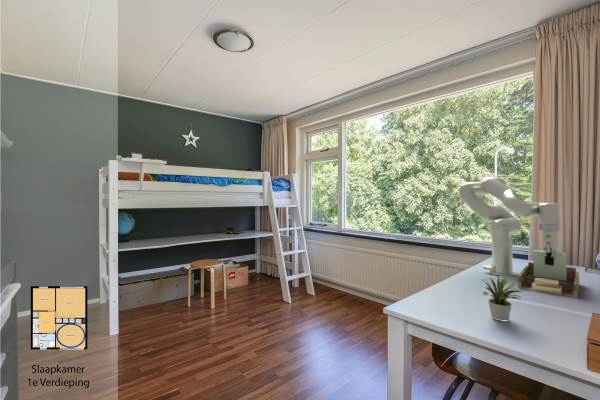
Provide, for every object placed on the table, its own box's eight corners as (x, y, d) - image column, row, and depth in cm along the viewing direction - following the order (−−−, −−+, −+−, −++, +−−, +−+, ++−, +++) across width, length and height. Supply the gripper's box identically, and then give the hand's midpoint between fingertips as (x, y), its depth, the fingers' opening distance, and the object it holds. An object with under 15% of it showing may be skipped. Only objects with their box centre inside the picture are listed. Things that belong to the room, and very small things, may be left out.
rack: (577, 300, 118) (577, 279, 118) (518, 290, 132) (517, 271, 132) (579, 286, 135) (578, 268, 135) (526, 278, 150) (526, 261, 149)
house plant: (491, 328, 96) (490, 281, 95) (467, 312, 109) (466, 271, 109) (532, 327, 96) (531, 280, 95) (503, 311, 110) (502, 270, 109)
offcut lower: (561, 295, 122) (561, 289, 122) (531, 290, 129) (531, 284, 129) (562, 291, 126) (562, 286, 126) (533, 287, 133) (533, 281, 133)
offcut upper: (558, 288, 123) (558, 283, 123) (534, 284, 129) (534, 279, 129) (559, 286, 126) (558, 280, 126) (536, 282, 132) (536, 277, 132)
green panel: (566, 283, 133) (565, 254, 133) (533, 278, 142) (533, 251, 141) (566, 281, 135) (566, 253, 135) (534, 276, 144) (534, 250, 143)
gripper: (558, 229, 130) (558, 268, 130) (560, 226, 141) (561, 262, 141) (537, 228, 135) (537, 266, 135) (541, 225, 146) (541, 260, 146)
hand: (549, 263), depth 138 cm, fingers closed on green panel, 2 cm apart
